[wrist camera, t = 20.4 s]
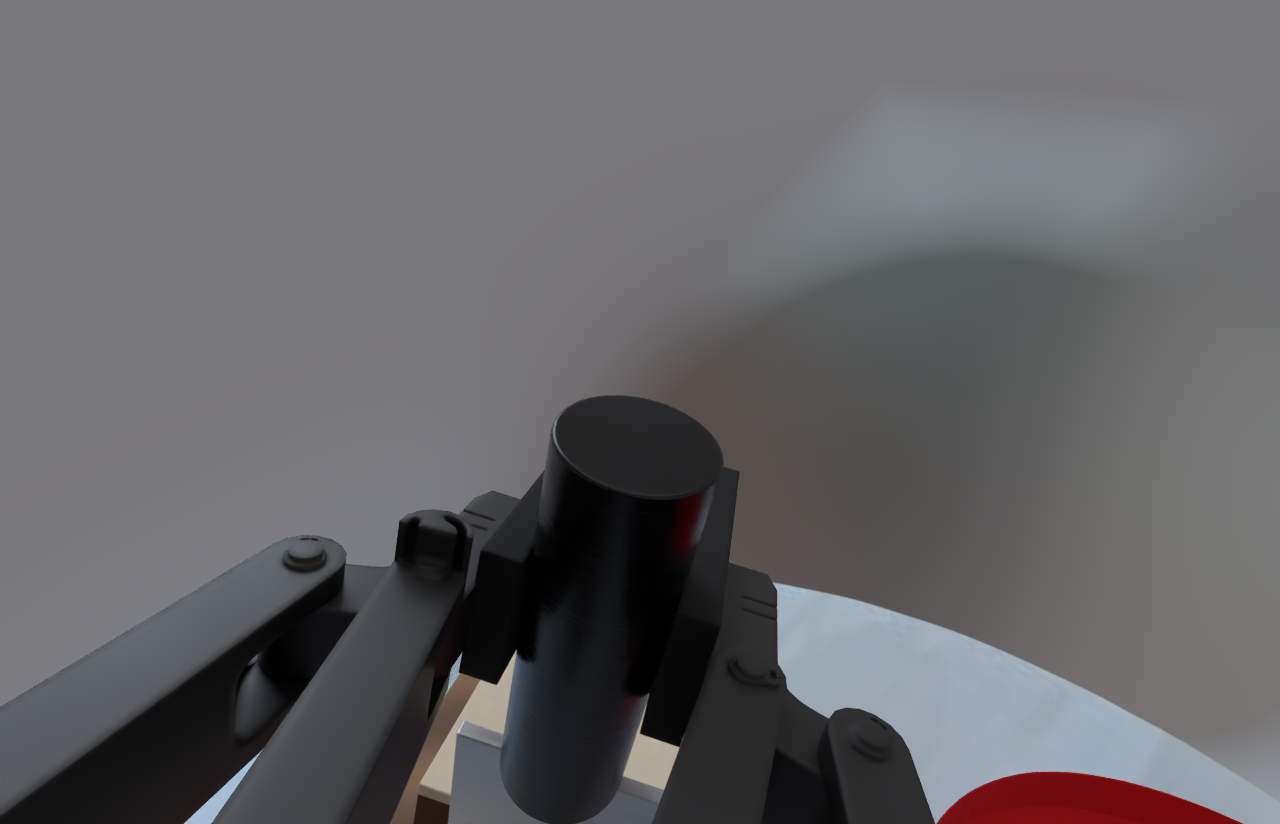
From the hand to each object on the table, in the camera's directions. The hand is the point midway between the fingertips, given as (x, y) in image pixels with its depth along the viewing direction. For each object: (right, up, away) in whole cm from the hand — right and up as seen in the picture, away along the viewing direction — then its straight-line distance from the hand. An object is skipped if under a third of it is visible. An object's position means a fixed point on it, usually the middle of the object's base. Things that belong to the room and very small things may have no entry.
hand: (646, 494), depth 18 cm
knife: (-4, -14, +3) cm, 15 cm away
